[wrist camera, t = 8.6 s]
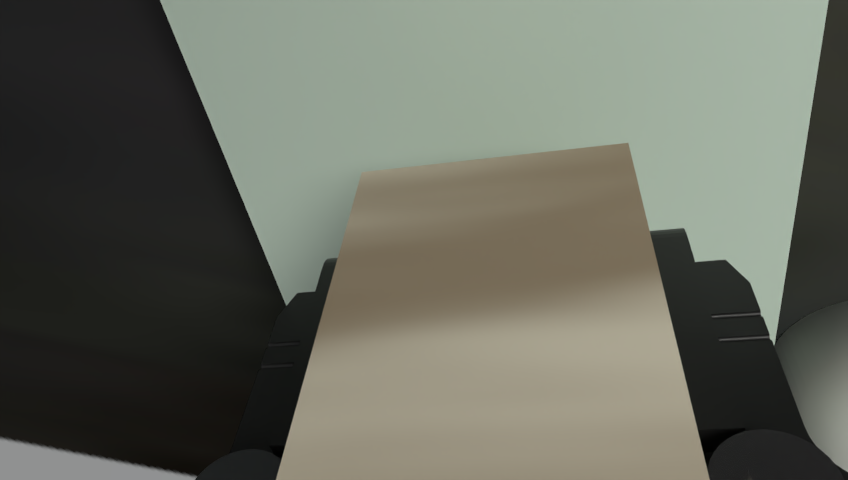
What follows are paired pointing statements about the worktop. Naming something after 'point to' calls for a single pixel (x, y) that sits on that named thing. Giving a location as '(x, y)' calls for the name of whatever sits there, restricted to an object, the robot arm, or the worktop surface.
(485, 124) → the cutting board
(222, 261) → the worktop surface
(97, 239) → the worktop surface
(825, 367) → the ceramic jar
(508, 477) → the ash block
